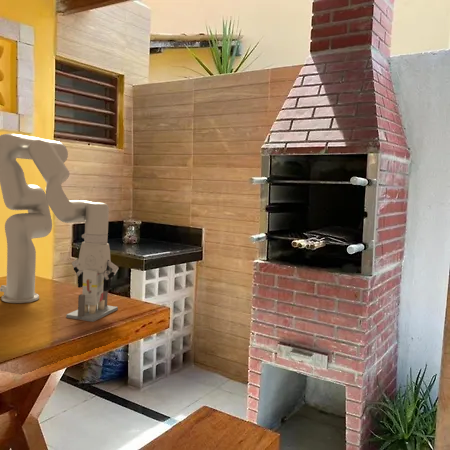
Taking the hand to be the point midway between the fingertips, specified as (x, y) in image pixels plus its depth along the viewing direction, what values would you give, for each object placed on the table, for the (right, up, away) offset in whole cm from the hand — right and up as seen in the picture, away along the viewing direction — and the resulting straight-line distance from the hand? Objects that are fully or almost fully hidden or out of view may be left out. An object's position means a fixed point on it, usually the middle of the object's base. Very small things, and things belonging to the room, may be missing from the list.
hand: (93, 288), depth 157 cm
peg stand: (0, -9, +1) cm, 9 cm away
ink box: (-1, -5, 0) cm, 5 cm away
